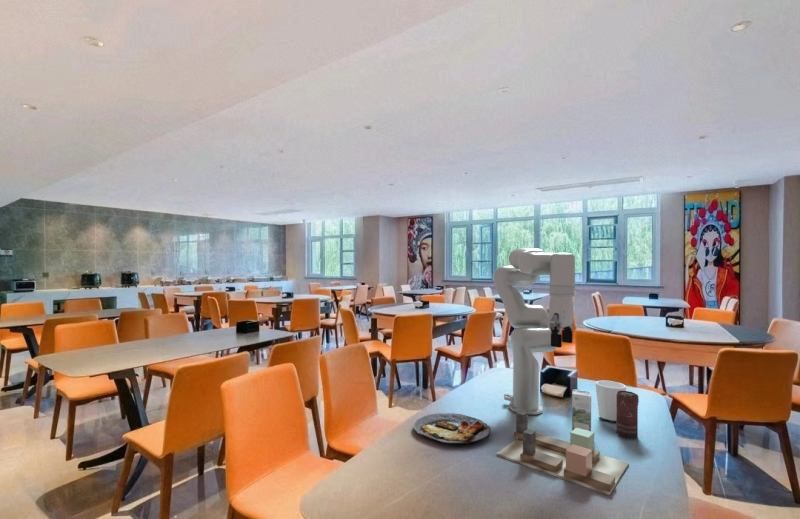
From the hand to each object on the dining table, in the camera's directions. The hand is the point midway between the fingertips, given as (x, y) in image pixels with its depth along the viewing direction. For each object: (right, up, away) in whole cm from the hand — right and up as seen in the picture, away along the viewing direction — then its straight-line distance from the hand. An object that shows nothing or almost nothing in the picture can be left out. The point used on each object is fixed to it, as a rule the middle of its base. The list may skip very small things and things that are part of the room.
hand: (561, 344), depth 129 cm
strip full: (-5, -29, -7) cm, 31 cm away
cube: (+1, -28, -13) cm, 31 cm away
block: (-5, -28, -24) cm, 37 cm away
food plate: (-35, -31, +5) cm, 46 cm away
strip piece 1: (-13, -29, -18) cm, 36 cm away
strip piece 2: (-3, -30, -26) cm, 40 cm away
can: (+23, -31, +3) cm, 38 cm away
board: (-6, -30, -14) cm, 34 cm away
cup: (+25, -31, +17) cm, 43 cm away
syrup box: (+7, -31, +2) cm, 32 cm away
